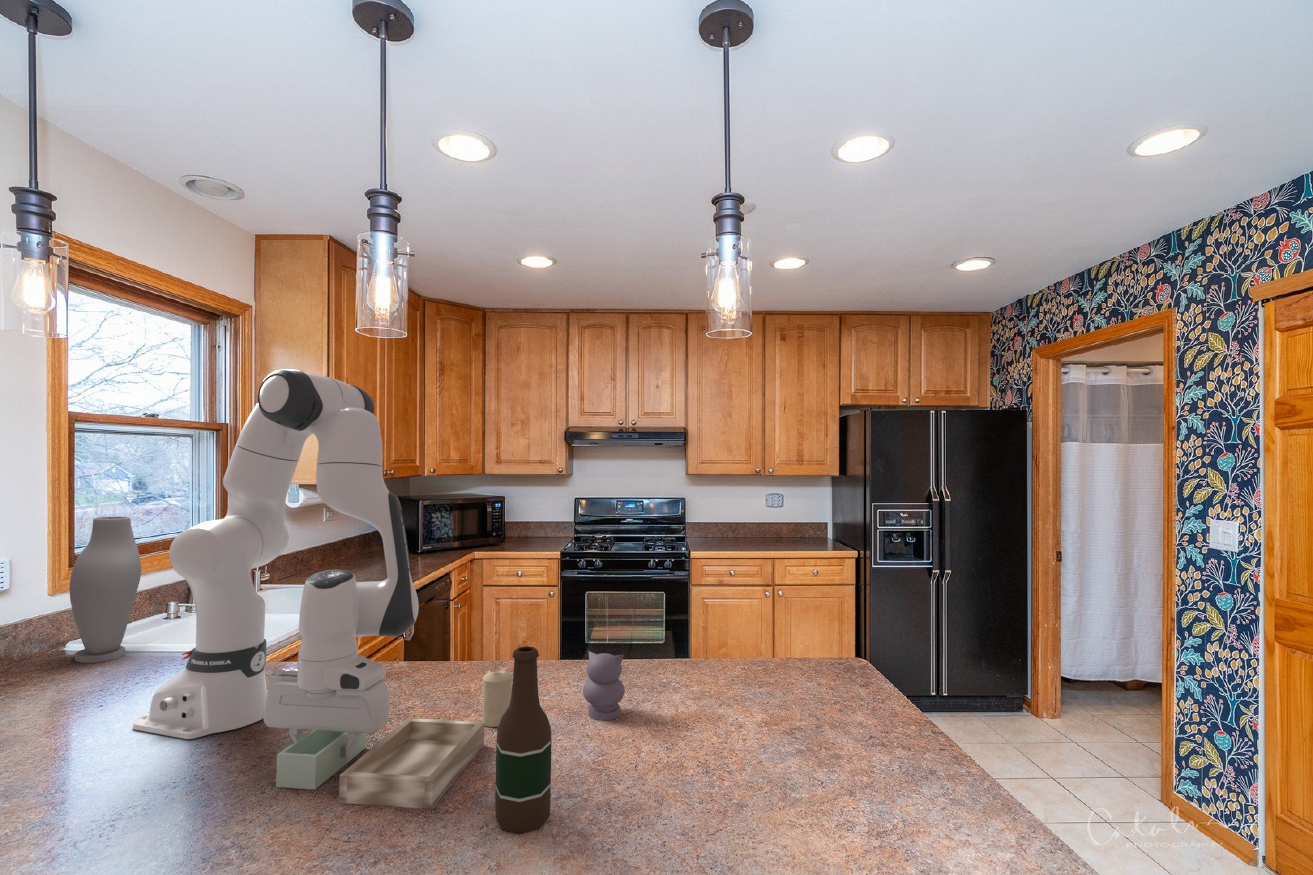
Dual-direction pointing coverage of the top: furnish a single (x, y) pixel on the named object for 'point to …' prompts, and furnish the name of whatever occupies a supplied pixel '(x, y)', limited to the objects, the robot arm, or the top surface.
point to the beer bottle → (523, 752)
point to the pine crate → (412, 764)
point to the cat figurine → (604, 686)
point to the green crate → (314, 759)
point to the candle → (496, 696)
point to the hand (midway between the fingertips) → (325, 754)
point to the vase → (105, 588)
